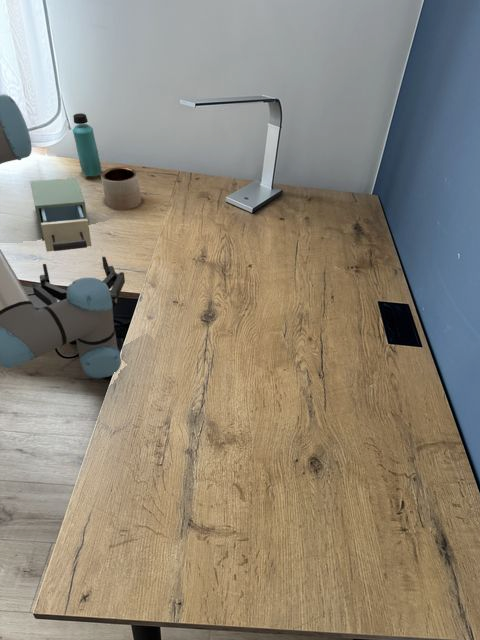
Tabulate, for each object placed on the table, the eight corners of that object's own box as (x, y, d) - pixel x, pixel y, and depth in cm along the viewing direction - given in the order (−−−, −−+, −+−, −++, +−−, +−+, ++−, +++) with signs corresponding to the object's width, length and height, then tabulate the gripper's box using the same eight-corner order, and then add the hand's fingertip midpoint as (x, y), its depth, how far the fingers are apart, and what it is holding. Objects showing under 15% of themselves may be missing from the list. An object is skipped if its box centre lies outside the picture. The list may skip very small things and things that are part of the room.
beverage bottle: (105, 178, 169) (93, 115, 156) (86, 182, 166) (72, 119, 153) (98, 171, 173) (86, 109, 160) (79, 175, 170) (65, 113, 157)
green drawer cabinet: (89, 236, 143) (84, 201, 136) (42, 241, 139) (34, 205, 132) (81, 211, 153) (76, 178, 146) (37, 215, 148) (29, 181, 141)
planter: (124, 192, 164) (120, 163, 158) (148, 202, 160) (145, 172, 153) (99, 204, 157) (92, 175, 151) (123, 215, 153) (118, 185, 146)
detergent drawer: (96, 262, 133) (92, 233, 127) (50, 268, 129) (44, 238, 123) (84, 225, 146) (80, 196, 140) (42, 229, 142) (36, 200, 136)
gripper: (30, 343, 106) (22, 285, 120) (148, 322, 115) (128, 271, 128) (23, 315, 101) (15, 258, 115) (146, 296, 110) (126, 245, 123)
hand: (75, 264), depth 122 cm, fingers open, 13 cm apart
